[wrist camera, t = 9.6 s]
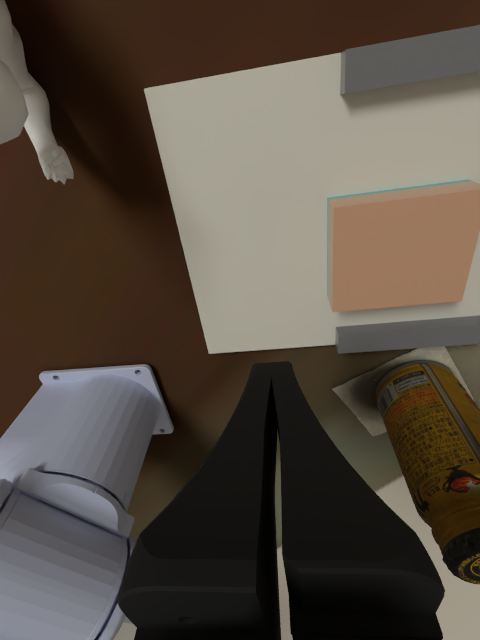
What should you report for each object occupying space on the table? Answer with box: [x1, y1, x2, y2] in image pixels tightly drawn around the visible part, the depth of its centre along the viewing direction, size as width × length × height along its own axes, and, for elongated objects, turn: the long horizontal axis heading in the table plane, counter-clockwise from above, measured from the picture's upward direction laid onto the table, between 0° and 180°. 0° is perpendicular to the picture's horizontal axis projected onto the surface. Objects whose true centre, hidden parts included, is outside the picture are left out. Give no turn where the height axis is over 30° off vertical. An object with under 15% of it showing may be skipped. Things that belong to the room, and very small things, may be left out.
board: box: [144, 25, 480, 354], centre depth 18 cm, size 18×16×2 cm
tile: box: [327, 180, 480, 312], centre depth 18 cm, size 2×6×7 cm
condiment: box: [332, 346, 480, 584], centre depth 21 cm, size 7×8×12 cm
